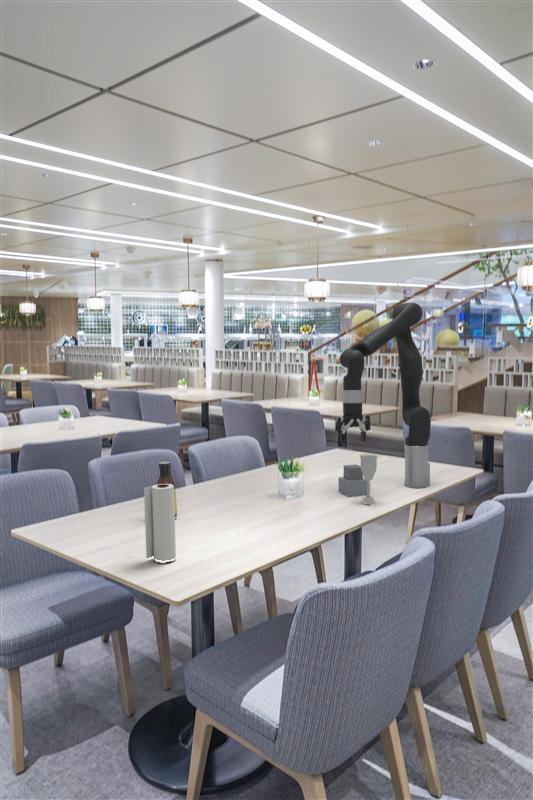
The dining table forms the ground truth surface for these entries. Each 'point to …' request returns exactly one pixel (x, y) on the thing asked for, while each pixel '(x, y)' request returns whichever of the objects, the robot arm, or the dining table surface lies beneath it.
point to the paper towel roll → (160, 521)
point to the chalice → (368, 473)
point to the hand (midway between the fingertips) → (353, 442)
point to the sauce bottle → (167, 479)
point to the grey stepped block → (352, 481)
